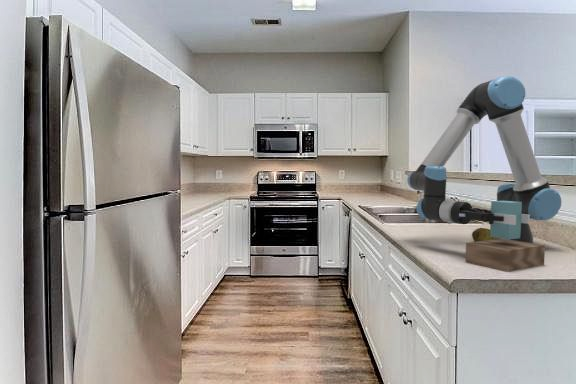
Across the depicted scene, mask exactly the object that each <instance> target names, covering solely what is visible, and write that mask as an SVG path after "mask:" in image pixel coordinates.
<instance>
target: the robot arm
mask: <svg viewBox="0 0 576 384" xmlns="http://www.w3.org/2000/svg"><path fill="white" fill-rule="evenodd" d="M526 95H527V94H526V88H525V86H524V84H523V82H522V81H521V80H519V79H518V78H517V77H514V76H511V75H505V76H500V77H496V78H494V79H491V80H489V81H488V80H487V81H486V82H481V83H480V84H478V85H476V86H475V87H473V89H472V90H470V91H469V93H468V94H467V96H466V97H465V99H464V100H463V101H462V102H461V104H460V105H459V106H458V108H457V109H456V115H455V116H454V118H453V119H452V121H451V122H450V123H449V125H448V126H447V128H446V129H445V131H444V132H443V133H442V134H441V136H440V137H439V138H438V140H437V141H436V143H435V144H434V146H433V147H432V148H431V150H430V151H429V153H428V154H427V156H426V157H425V158H424V159H423V161H422V162H421V163H420V165H419V166H418V167H417V169H416V170H414V171H412V172H410V173H409V175H408V176H407V179H406V180H407V181H406V182H407V185H408V186H409V188H410V189H412V190H415V191H419V192H420V191H423V198H421V199H419V200H418V202H417V205H416V209H415V210H416V213H417V215H418V216H419V218H422V219H426V220H429V221H437V222H438V221H439V222H447V224H448V225H451V223H452V224H453V223H454V224H458V225H467V224H469V223H470V222H471V221H476V222H482V223H487V222H488V224H489V225H490V224H493V221H494V222H495V223H503V224H511V225H516V215H506V214H497V213H494V215H493V214H492V213H491V209H490V210H489V209H486V208H479V207H473V206H472V205H471V203H469V202H468V201H457V200H449V199H446V196H447V195H446V192H447V178H448V177H447V168H446V167H445V165H446V164H447V162H448V161H449V160H450V158H451V157H452V155H453V154H454V152H455V151H456V150H457V149H458V147H459V146H460V145H461V143H462V142H463V140H464V139H465V138H466V137H467V135H468V134H469V132H470V131H471V130H472V129H473V127H474V125H477V124H480V122H481V120H482V119H483V118H484V117H486V116H487V117H488V120H489V121H490V122H492V123H494V124H495V127H496V129H497V133H498V135H499V138H500V141H501V144H502V148H503V150H504V152H505V155H506V159H507V161H508V165H509V168H510V171H511V173H512V177H513V179H514V181H515V183H504V184H499V186H498V187H497V192H496V201H513V202H522V211H521V233H520V238H518V239H510V240H514V241H520V242H527V243H533V244H534V236H533V233H532V230H531V226H530V222H531V221H530V220H535V221H548V220H551V219H553V218H555V217H556V216H557V214H558V213H559V210H561V207H562V197H561V195H560V193H559V192H558V190H555V189H554V188H551V186H550V182H549V180H548V179H547V178H545V177H543V176H542V175H541V171H540V168H539V166H538V163H537V159H536V157H535V153H534V151H533V148H532V144H531V141H530V139H529V135H528V133H527V129H526V127H525V124H524V120H523V118H522V112H523V111H524V105H523V103H524V101H525V97H526Z"/></svg>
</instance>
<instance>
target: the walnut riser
mask: <svg viewBox="0 0 576 384" xmlns="http://www.w3.org/2000/svg"><path fill="white" fill-rule="evenodd" d="M545 251H546V245H544V244H539V243H534V242H533V243H527V242H520V241H514V240H507V239H495V240H486V241H478V242H474V241H471V242H466V243H465V263H469V264H473V265H476V266H482V267H485V268H491V269H495V270H499V271H503V272H512V271H519V270H523V269H529V268H535V267H539V266H540V267H541V266H544V265H545V254H546V253H545Z"/></svg>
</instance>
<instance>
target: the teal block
mask: <svg viewBox="0 0 576 384" xmlns="http://www.w3.org/2000/svg"><path fill="white" fill-rule="evenodd" d="M490 203H491V204H490V210H491V213H492V214H493V215H494V213H497V214H506V215H516V225H511V224H503V223H495V222H494V221H493V224H489V225H490V228H489V229H490V237H495V238H501V239H507V240H509V239H518V238H520V233H521V211H522V202H513V201H497V200H493V201H491V202H490Z"/></svg>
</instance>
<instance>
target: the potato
mask: <svg viewBox="0 0 576 384" xmlns="http://www.w3.org/2000/svg"><path fill="white" fill-rule="evenodd" d="M471 237H472V240H473V242H478V241H486V240H495V239H501V238H495V237H490V228H485V227H479V228H476V229H474V230H473V231H472V233H471ZM509 240H510V239H509Z"/></svg>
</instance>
